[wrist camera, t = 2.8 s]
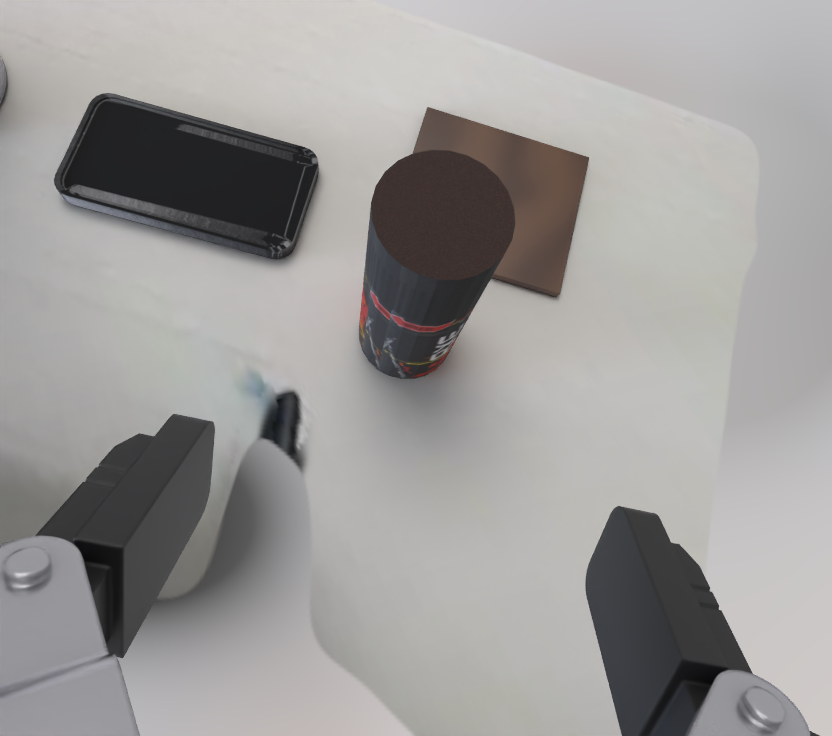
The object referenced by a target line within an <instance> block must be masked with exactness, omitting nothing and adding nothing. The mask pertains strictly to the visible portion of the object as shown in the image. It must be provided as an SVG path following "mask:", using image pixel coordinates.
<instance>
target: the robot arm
mask: <svg viewBox="0 0 832 736" xmlns="http://www.w3.org/2000/svg"><path fill="white" fill-rule="evenodd" d="M5 89H6V70H5V66H4V63H3V61H2V59H1V57H0V103H1V101H2V99H3V96H4V93H5ZM214 435H215V427H214V423H213V422H211V421H207V420H202V419H197V418H192V417H187V416H182V415H177V414H173V415H172V416H171V417H170V418H169V419H168V420H167V422H166V423H165V424H164V425H163V427H162V428H161V429H160V430H159V432H158V433H157V434H156V435H155V436H149V435H144V434H137V435H135V436H134V437H132V438H130V439H128V440H126V441H124V442H122V443H120V444H118V445H116V446H115V447H114V448H113V449H112V450H111V451H110V452H109V453H108V455H107V456H106V457H105V458H104V459H103V460H102V461H101V462H100V464H99V467H98V468H97V467H96V468H95V469H94V470H93V471H92V473H91V474H90V475H89V476H88V477H87V478H86V482H83V483H82V484H81V485H80V486H79V487H78V488H77V489H76V491H75V492H74V493H73V494H72V495H71V496H70V497H69V498H68V500H67V501H66V502H65V503H64V504H63V505H62V506H61V507H60V509H59V510H58V511H57V512H56V513H55V514H54V515H53V516H52V518H51V519H50V520H49V521H48V522H47V523H46V524H45V525H44V527H43V528H42V529H41V530H40V531H39V532H38V533H37V534H36V536H31V537H25V538H20V539H16V540H13V541H10V542H7V543H5V544H2V545H0V736H140V734H139V731H138V727H137V724H136V720H135V717H134V713H133V709H132V706H131V702H130V699H129V696H128V692H127V688H126V685H125V681H124V678H123V674H122V670H121V667H120V664H119V661H118V658H117V657H120V658H123V657H124V655H125V653H126V652H127V650H128V648H129V646H130V645H131V643H132V641H133V639H134V637H135V636H136V634H137V632H138V630H139V628H140V626H141V625H142V623H143V621H144V619H145V618H146V616H147V614H148V612H149V610H150V609H151V607H152V605H153V603H154V601H155V600H156V598H157V596H158V594H159V592H160V591H161V589H162V587H163V585H164V583H165V582H166V580H167V578H168V576H169V574H170V573H171V571H172V569H173V567H174V566H175V564H176V562H177V560H178V558H179V557H180V555H181V553H182V551H183V549H184V548H185V546H186V544H187V542H188V540H189V539H190V537H191V535H192V533H193V531H194V530H195V528H196V526H197V524H198V522H199V521H200V519H201V517H202V515H203V512H204V510H205V507H206V504H207V500H208V496H209V492H210V485H211V473H212V460H213V447H214ZM709 590H710V587H709V585H708V583H707V581H706V579H705V577H704V575H703V572H702V570H701V568H700V566H699V565H698V564H697V563H696V562H695V561H694V560H693V559H692V557H691V556H690V555H689V554H688V553H687V552H686V551H685V550H684V549H683V548H682V547H681V546H680V545H679V544H674V543H671V542H670V539H669V537H668V535H667V533H666V531H665V529H664V526H663V524H662V522H661V520H660V518H659V516H658V515H657V514H655V513H650V512H645V511H640V510H635V509H630V508H625V507H621V506H618V507H616V508H615V509H614V510H613V511H612V512H611V514H610V517H609V519H608V521H607V523H606V526H605V528H604V530H603V533H602V535H601V537H600V539H599V542H598V544H597V546H596V549H595V551H594V553H593V555H592V558H591V560H590V562H589V565H588V569H587V574H586V596H587V600H588V604H589V608H590V612H591V616H592V619H593V623H594V627H595V631H596V635H597V639H598V643H599V647H600V651H601V655H602V659H603V663H604V667H605V671H606V675H607V678H608V682H609V686H610V690H611V694H612V698H613V702H614V706H615V710H616V714H617V718H618V722H619V726H620V730H621V734H622V736H819V735H817V734H815V733H813V732H811V731H809V728H808V725H807V723H806V721H805V719H804V717H803V716H802V714H801V713H800V711H799V710H798V708H797V707H796V706H795V705H794V703H793V702H792V701H790V699H789V698H788V697H787V696H786V695H785V694H783V693H782V692H781V691H780V690H779V689H777V688H776V687H775V686H774V685H772V684H771V683H769V682H767V681H766V680H764V679H762V678H760V677H758V676H756V675H754V674H753V673H752V671H751V669H750V667H749V666H748V663H747V661H746V659H745V657H744V655H743V653H742V651H741V649H740V647H739V645H738V643H737V641H736V639H735V637H734V635H733V633H732V631H731V629H730V627H729V625H728V623H727V621H726V619H725V617H724V615H723V613H722V611H721V610H719V605H718V603H717V601H716V599H715V597H714V595H713V593H712V592H710V591H709Z"/></svg>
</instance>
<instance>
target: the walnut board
mask: <svg viewBox="0 0 832 736" xmlns="http://www.w3.org/2000/svg"><path fill="white" fill-rule="evenodd" d="M428 150H449V151H453V152H457V153H461V154H464V155H468V156H470V157H471V158H473V159H475V160H477V161H479V162H481V163H483V164H484V165H485V166H487V167H488V168H489V169H490V170H491V171H492V172H493V173H495V174H496V175H497V176H498V177H499V179H500V180H501V182H502V183H503V184H504V186H505V187H506V189H507V190H508V192H509V195H510V198H511V200H512V203H513V206H514V213H515V228H514V233H513V238H512V241H511V243H510V245H509V247H508V249H507V251H506V252H505V254H504V256H503V258H502V260H501V261H500V263H499V265H498V267H497V268H496V270H495V272H494V274H493V275H492V278H495V279H498V280H502V281H505V282H508V283H512V284H515V285H518V286H521V287H525V288H528V289H531V290H535V291H538V292H541V293H545V294H548V295H551V296H555V297H557V296H558V295H559V294H560V291H561V286H562V281H563V277H564V272H565V268H566V263H567V258H568V254H569V249H570V244H571V240H572V235H573V230H574V226H575V221H576V216H577V212H578V207H579V203H580V198H581V193H582V189H583V184H584V179H585V175H586V170H587V165H588V161H589V157H586V156H583V155H579V154H576V153H573V152H570V151H567V150H563V149H560V148H557V147H554V146H551V145H547V144H544V143H541V142H538V141H535V140H531V139H528V138H525V137H522V136H519V135H515V134H512V133H509V132H506V131H503V130H499V129H496V128H493V127H490V126H487V125H483V124H480V123H477V122H474V121H471V120H467V119H464V118H461V117H458V116H455V115H451V114H448V113H445V112H442V111H439V110H435V109H432V108H429V107H428V108H427V110H426V113H425V117H424V120H423V123H422V126H421V129H420V132H419V135H418V139H417V142H416V145H415V148H414V151H413V153H418V152H423V151H428Z"/></svg>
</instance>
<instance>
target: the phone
mask: <svg viewBox="0 0 832 736" xmlns="http://www.w3.org/2000/svg"><path fill="white" fill-rule="evenodd" d="M318 172H319V170H318V159H317V157H316V155H315V153H314V152H312V151H311V150H310V149H307V148H305V147H302V146H298V145H294V144H291V143H287V142H284V141H280V140H277V139H273V138H269V137H266V136H262V135H259V134H255V133H252V132H248V131H244V130H241V129H237V128H234V127H230V126H227V125H223V124H219V123H216V122H212V121H209V120H205V119H202V118H198V117H194V116H191V115H187V114H184V113H180V112H177V111H173V110H169V109H166V108H162V107H159V106H155V105H152V104H148V103H144V102H141V101H137V100H134V99H130V98H127V97H123V96H120V95H116V94H111V93H106V94H101V95H98V96H96V97H95V98H94V99H92V101H91V102H90V104H89V106H88V108H87V110H86V112H85V114H84V116H83V118H82V120H81V123H80V125H79V127H78V129H77V131H76V133H75V135H74V137H73V139H72V141H71V143H70V145H69V148H68V150H67V152H66V154H65V156H64V158H63V160H62V162H61V164H60V166H59V168H58V170H57V173H56V175H55V178H54V183H55V186H56V188H57V190H58V191H59V192H60V194H61V195H62V196H63V198H64V199H65V200H66V201H67V202H69V203H71V204H73V205H76V206H80V207H83V208H87V209H91V210H94V211H98V212H102V213H106V214H109V215H113V216H117V217H120V218H124V219H128V220H131V221H135V222H139V223H143V224H146V225H150V226H154V227H157V228H161V229H165V230H168V231H172V232H176V233H180V234H183V235H187V236H191V237H194V238H198V239H202V240H205V241H209V242H213V243H217V244H220V245H224V246H228V247H231V248H235V249H239V250H242V251H246V252H250V253H253V254H257V255H261V256H265V257H268V258H273V259H281V258H284V257H286V256H288V255H289V254H290V253H291V252H292V251H293V249H294V247H295V244H296V241H297V238H298V235H299V232H300V229H301V226H302V223H303V220H304V217H305V214H306V211H307V208H308V205H309V202H310V199H311V196H312V193H313V190H314V187H315V184H316V181H317V178H318Z"/></svg>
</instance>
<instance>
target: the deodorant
mask: <svg viewBox="0 0 832 736" xmlns="http://www.w3.org/2000/svg"><path fill="white" fill-rule="evenodd" d="M514 228H515V213H514V206H513V203H512V200H511V198H510V195H509V192H508V190H507V189H506V187H505V186H504V184H503V183H502V182H501V180H500V179H499V177H498V176H497V175H496V174H495V173H493V172H492V171H491V170H490V169H489V168H488V167H487V166H485V165H484V164H483V163H481V162H479V161H477V160H475V159H473V158H471V157H470V156H468V155H464V154H461V153H457V152H453V151H449V150H428V151H423V152H418V153H413V154H411V155H409V156H407V157H405V158H403V159H401V160H398V161H397V162H396V163H395V164H394V165H392V166H391V167H390V168H389V169H388V170H387V171H385V173H384V174H383V176H382V177H381V179H380V180H379V182H378V184H377V185H376V187H375V191H374V194H373V198H372V202H371V211H370V221H369V231H368V241H367V252H366V262H365V272H364V282H363V293H362V303H361V313H360V323H359V340H360V343H361V347H362V350H363V352H364V354H365V355H366V357H367V358H368V360H369V361H370V362H371V363H372V364H373V365H374V366H375V367H376V368H377V369H378V370H380V371H382V372H384V373H386V374H387V375H389V376H393V377H397V378H417V377H421V376H425V375H427V374H429V373H430V372H432V371H434V370H435V369H436V368H437V367H438V366H439V365H440V364H441V363H442V362H443V361H444V360H445V358H446V356H447V355H448V353H449V351H450V349H451V347H452V346H453V344H454V342H455V340H456V339H457V337H458V335H459V333H460V332H461V330H462V328H463V326H464V325H465V323H466V321H467V319H468V318H469V316H470V314H471V312H472V311H473V309H474V307H475V305H476V304H477V302H478V300H479V298H480V296H481V295H482V293H483V291H484V289H485V288H486V286H487V284H488V282H489V281H490V279H491V277H492V275H493V274H494V272H495V270H496V268H497V267H498V265H499V263H500V261H501V260H502V258H503V256H504V254H505V252H506V251H507V249H508V247H509V245H510V243H511V241H512V238H513V233H514Z"/></svg>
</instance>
